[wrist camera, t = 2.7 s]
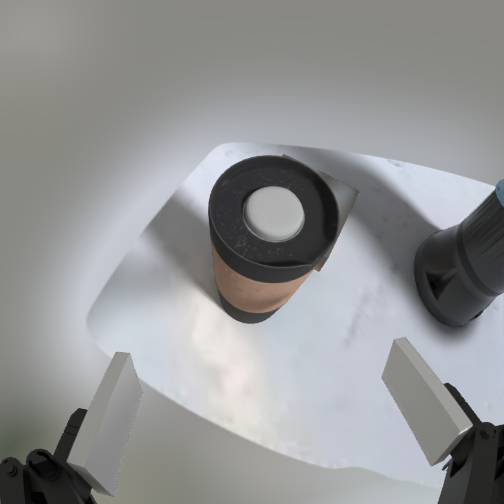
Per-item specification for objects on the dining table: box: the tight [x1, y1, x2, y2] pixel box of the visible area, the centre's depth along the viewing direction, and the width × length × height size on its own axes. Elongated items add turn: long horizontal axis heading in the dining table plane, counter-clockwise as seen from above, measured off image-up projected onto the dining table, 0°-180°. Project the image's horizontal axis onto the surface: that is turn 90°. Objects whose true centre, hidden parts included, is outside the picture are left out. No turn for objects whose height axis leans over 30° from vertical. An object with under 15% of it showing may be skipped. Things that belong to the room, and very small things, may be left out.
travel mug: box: [208, 155, 340, 324], centre depth 24 cm, size 8×8×20 cm
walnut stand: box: [282, 154, 359, 271], centre depth 37 cm, size 12×12×4 cm
